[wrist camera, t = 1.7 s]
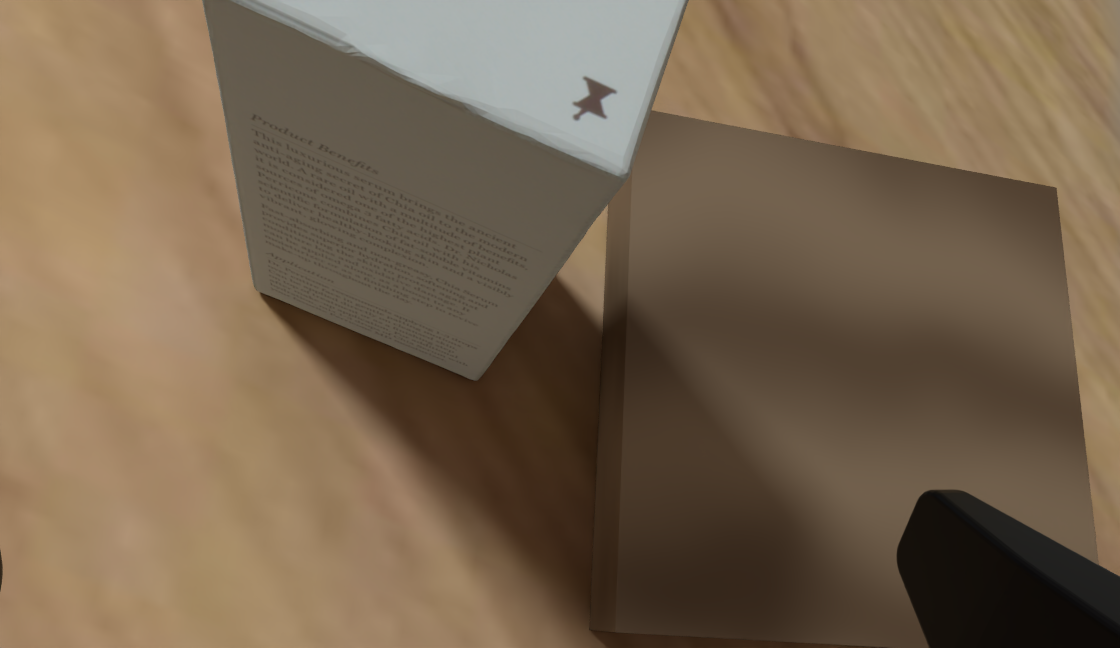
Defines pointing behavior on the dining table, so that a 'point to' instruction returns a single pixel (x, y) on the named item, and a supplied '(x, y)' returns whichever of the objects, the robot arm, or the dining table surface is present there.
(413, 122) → the skincare box
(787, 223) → the walnut plinth
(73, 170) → the dining table surface
